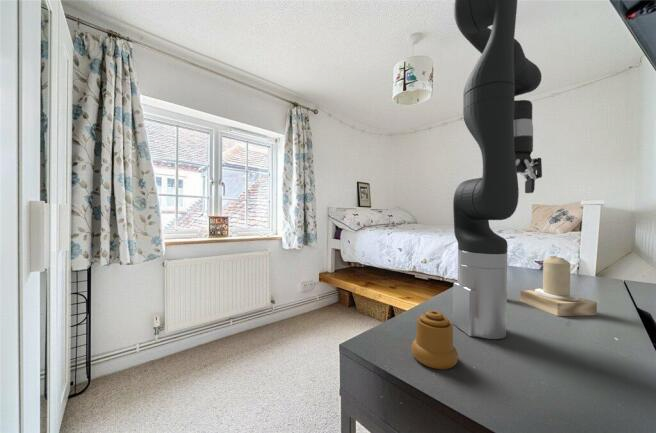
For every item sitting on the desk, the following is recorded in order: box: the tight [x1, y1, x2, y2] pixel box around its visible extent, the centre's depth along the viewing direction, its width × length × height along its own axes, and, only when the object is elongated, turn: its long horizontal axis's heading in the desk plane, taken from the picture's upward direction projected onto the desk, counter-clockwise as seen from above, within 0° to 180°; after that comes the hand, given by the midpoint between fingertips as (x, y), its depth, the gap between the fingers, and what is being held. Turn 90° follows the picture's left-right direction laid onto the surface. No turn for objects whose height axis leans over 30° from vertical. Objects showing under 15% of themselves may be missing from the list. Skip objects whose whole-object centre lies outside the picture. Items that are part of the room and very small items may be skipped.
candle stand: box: [519, 287, 598, 317], centre depth 70 cm, size 11×11×4 cm
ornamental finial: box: [411, 309, 459, 370], centre depth 44 cm, size 8×8×8 cm
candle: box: [542, 255, 571, 296], centre depth 69 cm, size 6×6×10 cm
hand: (516, 192), depth 75 cm, fingers open, 8 cm apart
